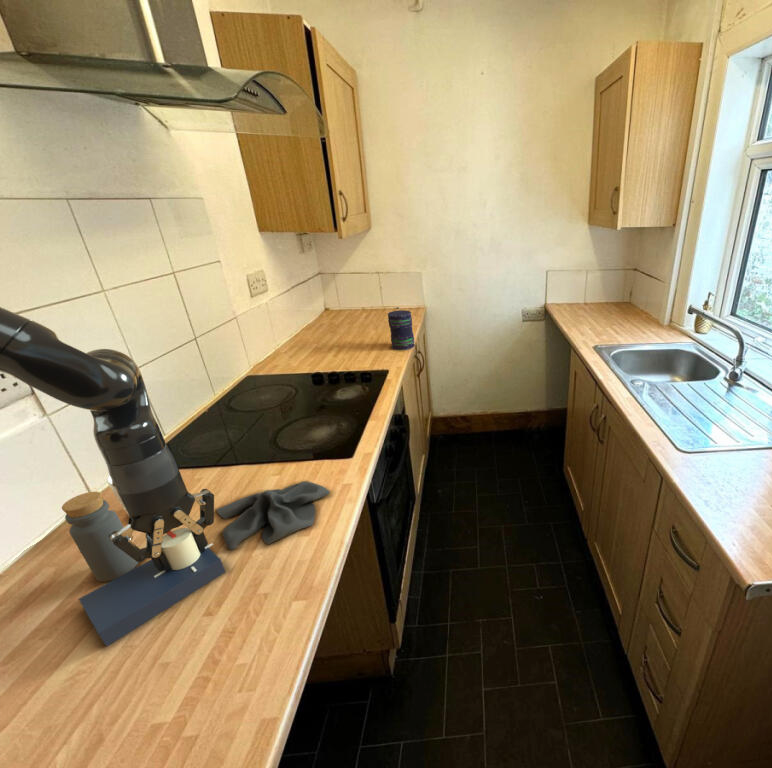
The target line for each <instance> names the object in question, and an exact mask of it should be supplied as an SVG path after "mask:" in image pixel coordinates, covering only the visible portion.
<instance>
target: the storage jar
mask: <svg viewBox="0 0 772 768" xmlns="http://www.w3.org/2000/svg"><path fill="white" fill-rule="evenodd" d="M395 309H397V310H393V311H390V312H388V313H387V319H388V327H389V330H390V342H391V348H392V349H393V350H395V351H407V350H411V349H413V348H414V347H415V336H414V335H415V334H414V331H413V318H412V312H411V311H410V310H406V309H405V310H403V309H402V310H401V309H400V307H399V306H397V307H395ZM398 309H400V310H398Z"/></svg>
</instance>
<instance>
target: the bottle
mask: <svg viewBox="0 0 772 768" xmlns="http://www.w3.org/2000/svg"><path fill="white" fill-rule="evenodd" d="M61 510H62V512H64V513H65V517H64V519H65V521H66V523H67V524H69V525H71V526H70V528H69V534H70V537H71V539H72V540H73V542H74V544H75V546H76V547H77V548H78V550H79V552H80V553H81V556H82V558H83V559H84V560H85V562H86V564H87V566H88V567H89V569H90V571H91V573H92V574H93V576H94V578H95V580H97V581H98V582H101V583H102V582H103V583H104V582H111V581H113V580H114V579H116V578H118V577H120V576H122V575H124V574H126V573H127V572H129V571H131V570H133V569H135V568H137V566H138V564H139V562H137V561H135V560H134V559H133V558H131V557H130V556H129V555H127V554H126V553H125V552H123V551H122V550H121V549H119V548H118V547H117V546H116V545H114V544H113V542H112V541H111V540H110V538H109V537H108V536H109V534H110V533H111V532H113V531H120V530H121V529H123V528H124V527H125V526H124V525H123V524H122V521H121V519H120V517H119V515H118V513H117V512H116V511H115V510H111V509H110V504H109V503H108V501H107V500H106V499H103V494H102V492H100V491H89V492H84V493H81V494H79V495H75V496H74V497H71V498H69V499H68V500H67V501H66V502H64V503H63V505H62V506H61Z"/></svg>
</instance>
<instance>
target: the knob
mask: <svg viewBox="0 0 772 768" xmlns="http://www.w3.org/2000/svg"><path fill="white" fill-rule="evenodd" d="M161 551H162V553H163V554H164V556H165V558H166V560H167V562H168V564H169V566H170V568H171V569H172V570H180V569H183V568H186V567H188V566H190V565H192V564H193V563H194V562H196V561H197V560H198V558H199V557H200V551H199V548H198V546H197V544H196V541H195V539H194V537H193V534H192V532H191V530H190V529H189V528H188V527H182V528H181V527H180V528H175V529H172V530H170V531H169V532H167V533H166V534H164V535H163V543H162V546H161Z"/></svg>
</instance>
